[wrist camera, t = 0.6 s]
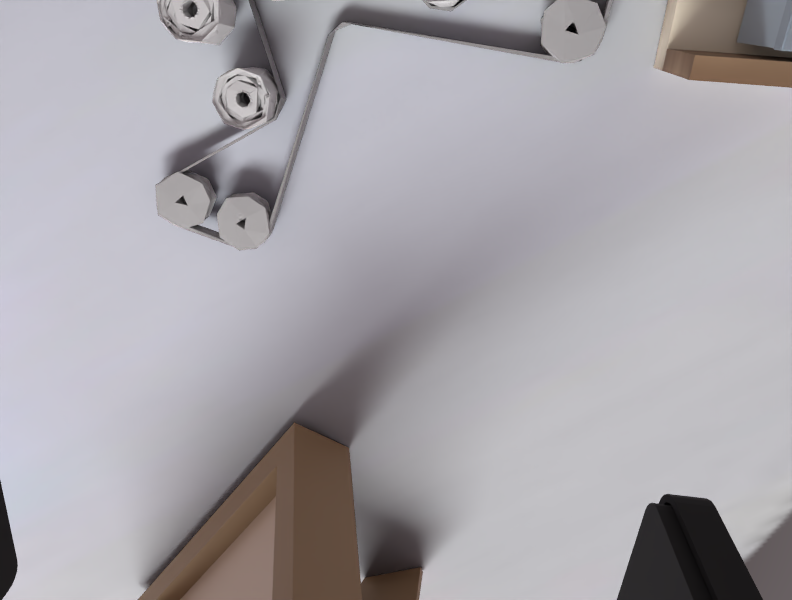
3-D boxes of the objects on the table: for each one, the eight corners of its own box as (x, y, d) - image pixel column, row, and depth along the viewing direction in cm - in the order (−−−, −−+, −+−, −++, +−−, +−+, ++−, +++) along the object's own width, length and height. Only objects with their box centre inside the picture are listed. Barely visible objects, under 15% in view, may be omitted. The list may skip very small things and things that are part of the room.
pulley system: (55, 35, 36) (215, 268, 40) (1, 33, 32) (187, 295, 36) (513, -299, 30) (648, 19, 34) (524, -359, 25) (678, 14, 29)
